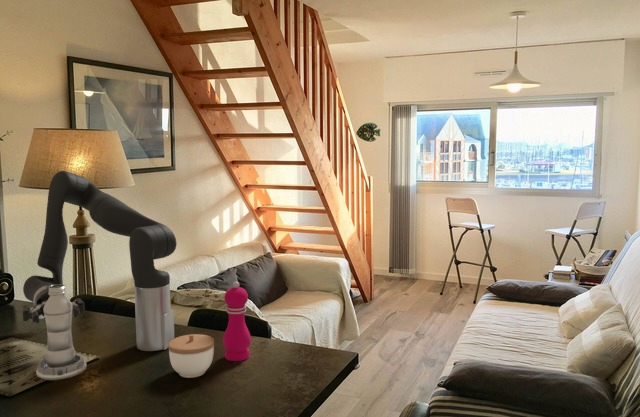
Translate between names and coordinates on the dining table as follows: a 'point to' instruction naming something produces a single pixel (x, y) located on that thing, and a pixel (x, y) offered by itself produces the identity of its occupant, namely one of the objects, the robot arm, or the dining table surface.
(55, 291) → the plastic bottle
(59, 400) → the dining table surface
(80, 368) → the tray
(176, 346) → the lidded jar
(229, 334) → the pepper mill
